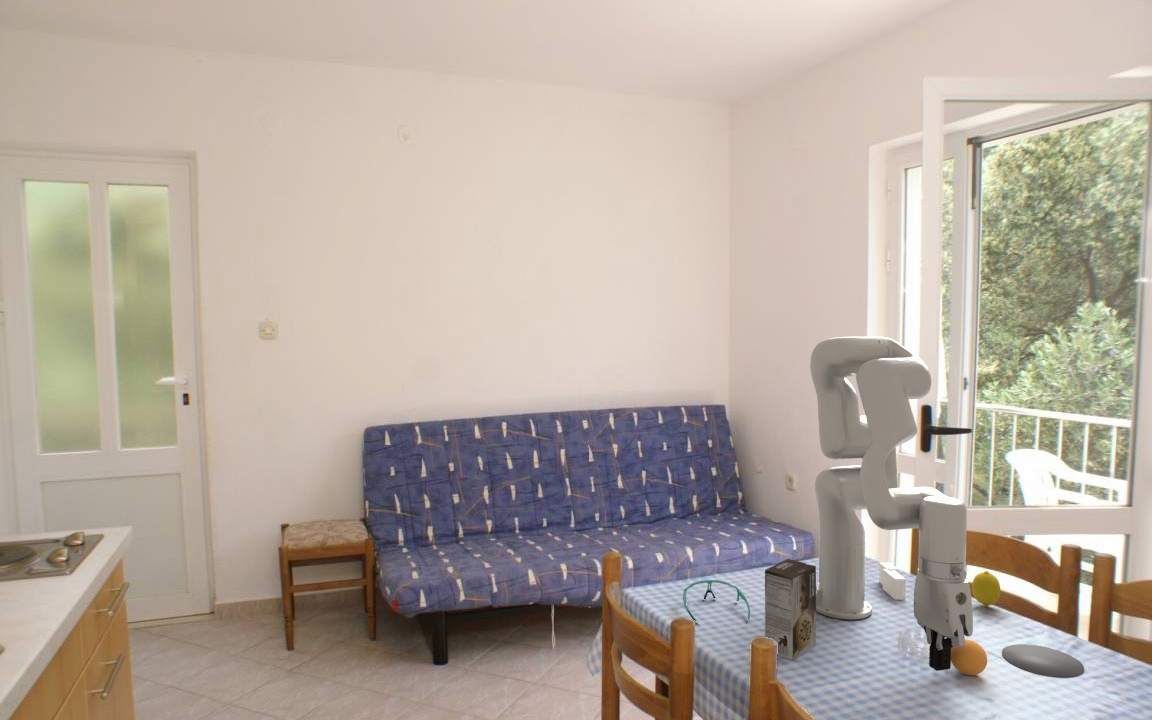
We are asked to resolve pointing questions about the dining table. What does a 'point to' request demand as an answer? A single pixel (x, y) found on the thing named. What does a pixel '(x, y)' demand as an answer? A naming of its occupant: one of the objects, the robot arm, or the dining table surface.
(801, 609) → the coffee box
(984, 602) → the lemon
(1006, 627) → the dining table surface
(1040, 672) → the gray round disc
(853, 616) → the robot arm
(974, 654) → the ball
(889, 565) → the napkin holder
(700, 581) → the safety glasses
